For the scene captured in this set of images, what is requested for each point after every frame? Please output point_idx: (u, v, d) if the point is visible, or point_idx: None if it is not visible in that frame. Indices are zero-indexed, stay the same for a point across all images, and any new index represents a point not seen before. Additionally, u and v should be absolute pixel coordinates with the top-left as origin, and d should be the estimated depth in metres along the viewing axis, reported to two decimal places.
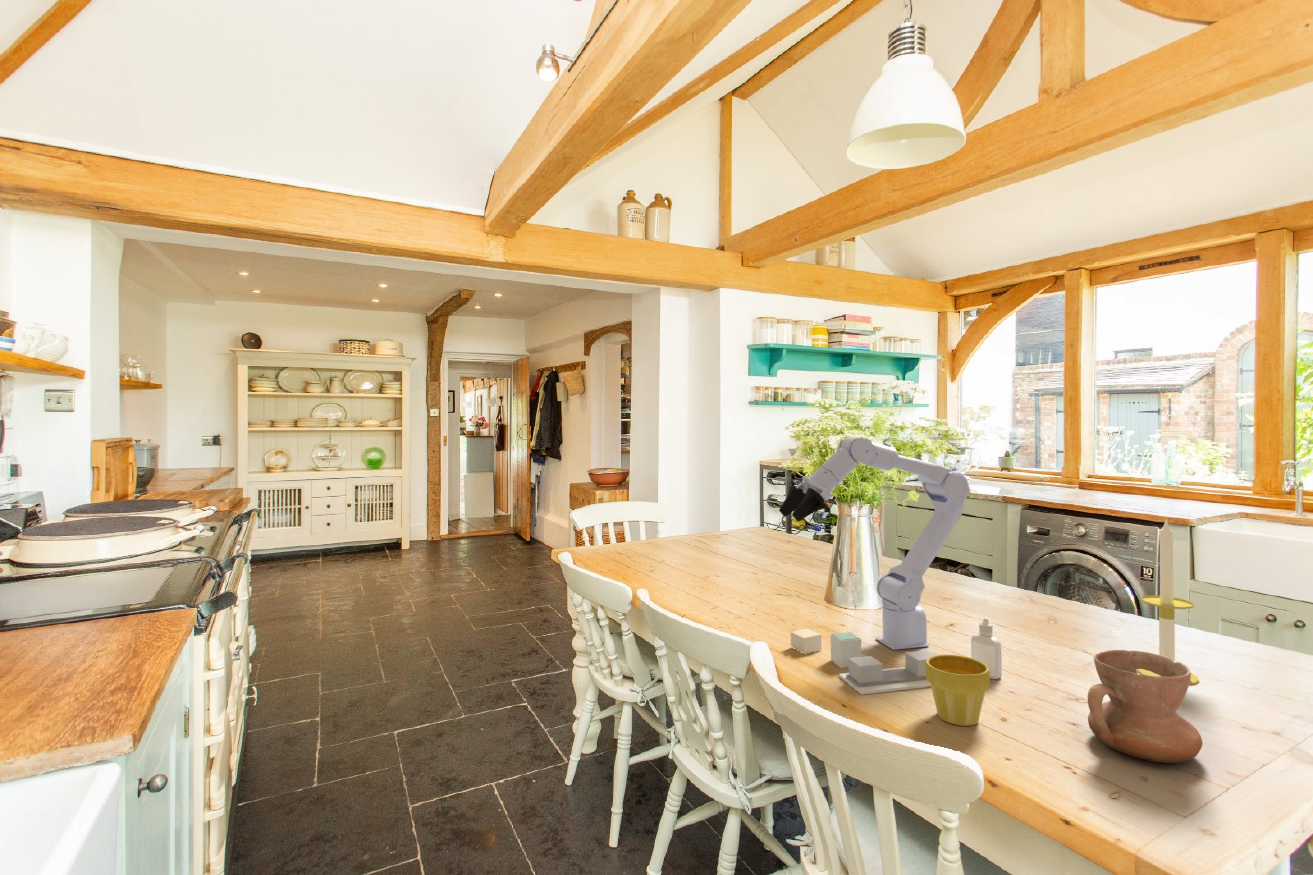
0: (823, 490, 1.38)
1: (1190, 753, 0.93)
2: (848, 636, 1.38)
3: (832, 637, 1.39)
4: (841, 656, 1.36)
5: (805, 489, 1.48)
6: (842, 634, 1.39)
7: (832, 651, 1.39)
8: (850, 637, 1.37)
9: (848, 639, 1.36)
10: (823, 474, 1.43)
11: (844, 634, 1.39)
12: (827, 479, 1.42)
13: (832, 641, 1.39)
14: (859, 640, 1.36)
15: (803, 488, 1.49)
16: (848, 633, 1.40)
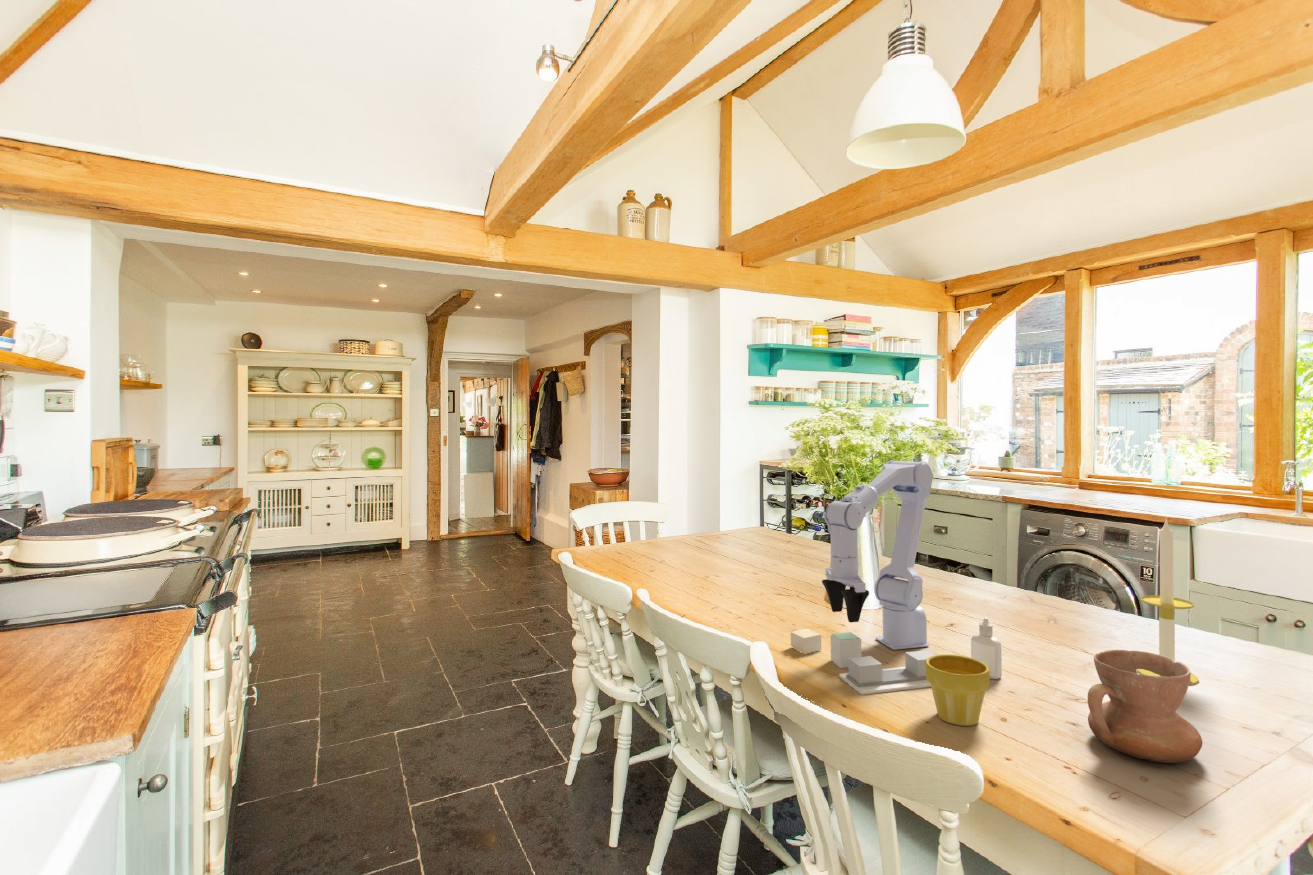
0: (854, 586, 1.31)
1: (1190, 753, 0.93)
2: (848, 636, 1.38)
3: (832, 637, 1.39)
4: (841, 656, 1.36)
5: None
6: (842, 634, 1.39)
7: (832, 651, 1.39)
8: (850, 637, 1.37)
9: (848, 639, 1.36)
10: (840, 564, 1.35)
11: (844, 634, 1.39)
12: (847, 565, 1.35)
13: (832, 641, 1.39)
14: (859, 640, 1.36)
15: None
16: (848, 633, 1.40)
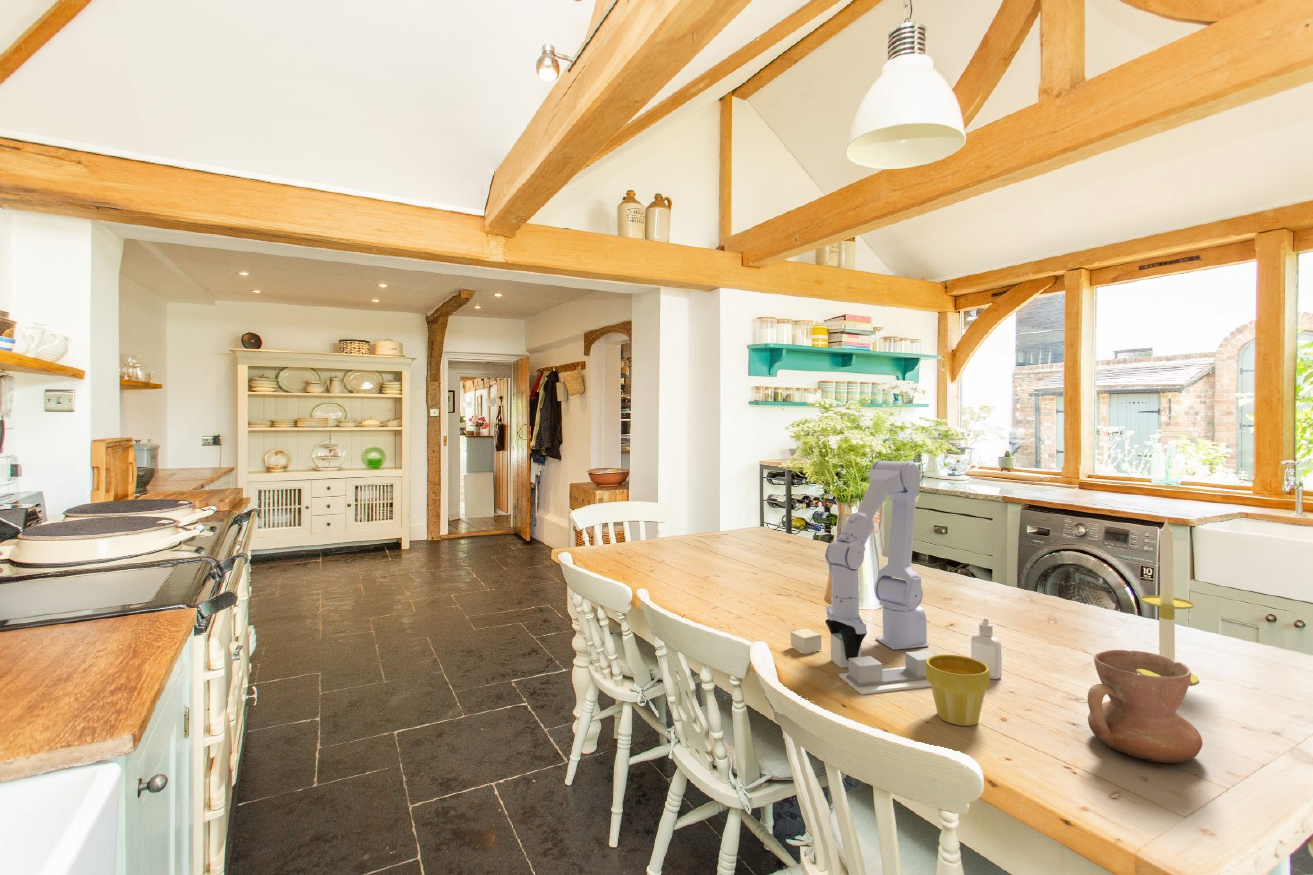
0: (855, 627, 1.31)
1: (1190, 753, 0.93)
2: None
3: (832, 637, 1.39)
4: (841, 655, 1.36)
5: None
6: None
7: (832, 651, 1.39)
8: None
9: None
10: (841, 604, 1.36)
11: None
12: (848, 606, 1.35)
13: (832, 641, 1.39)
14: None
15: None
16: None
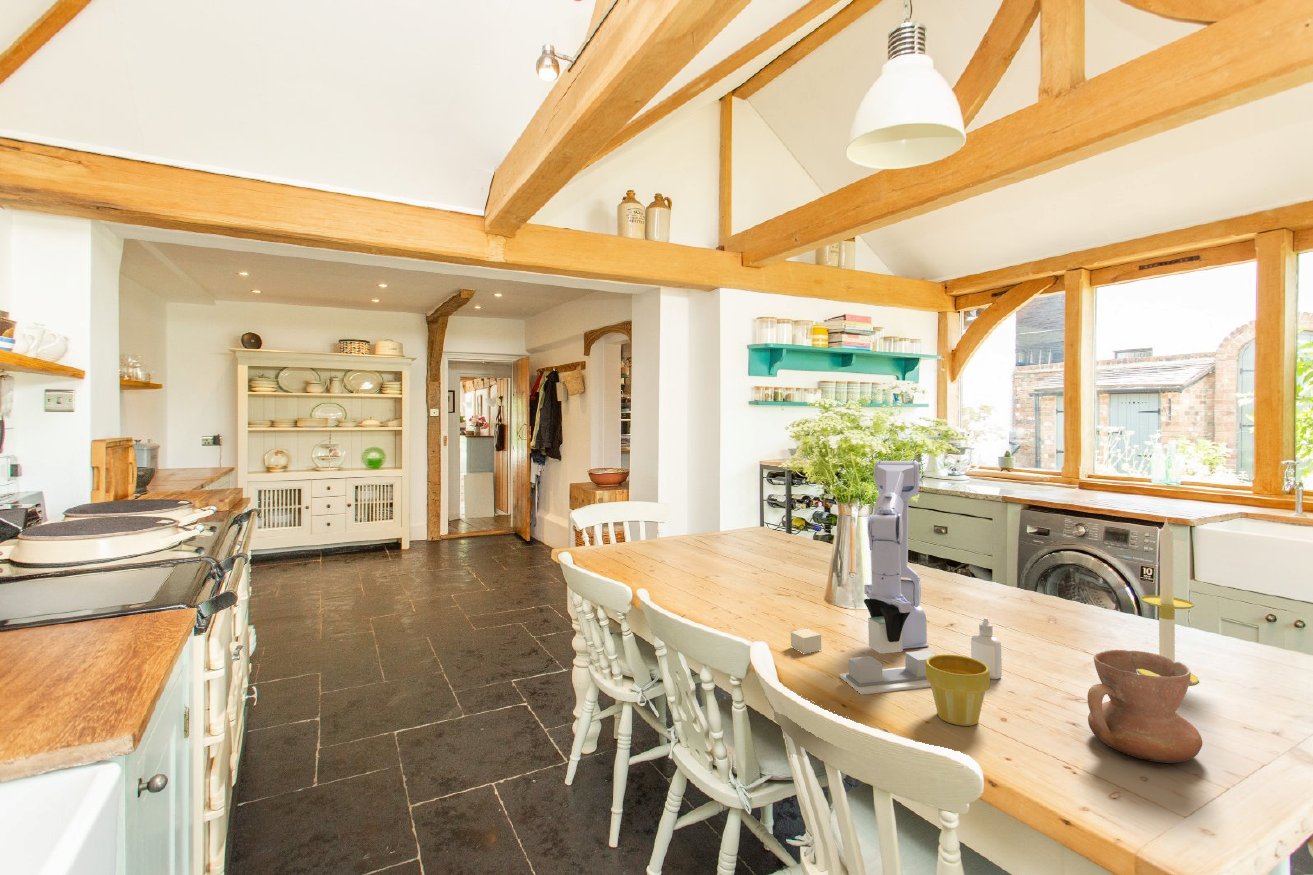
0: (899, 606, 1.23)
1: (1190, 753, 0.93)
2: None
3: (870, 621, 1.30)
4: (880, 640, 1.27)
5: None
6: (881, 618, 1.30)
7: (870, 636, 1.30)
8: None
9: None
10: (882, 582, 1.27)
11: (883, 618, 1.30)
12: (890, 583, 1.26)
13: (870, 625, 1.30)
14: None
15: None
16: None
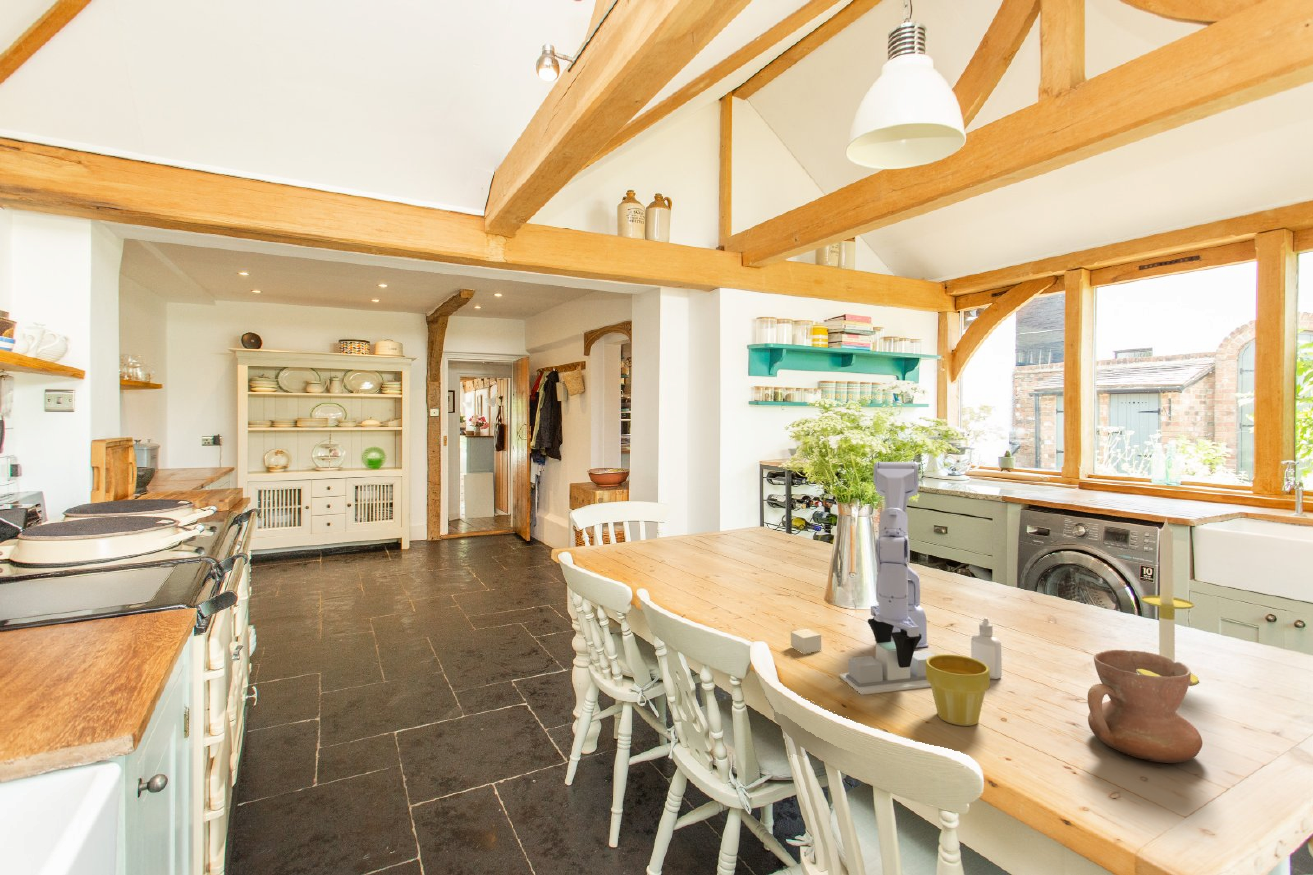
0: (907, 629, 1.22)
1: (1190, 753, 0.93)
2: (895, 646, 1.28)
3: (877, 647, 1.29)
4: (888, 667, 1.26)
5: None
6: (888, 643, 1.29)
7: None
8: None
9: (895, 649, 1.26)
10: (890, 604, 1.26)
11: (890, 643, 1.29)
12: (897, 606, 1.25)
13: (877, 651, 1.29)
14: None
15: None
16: None
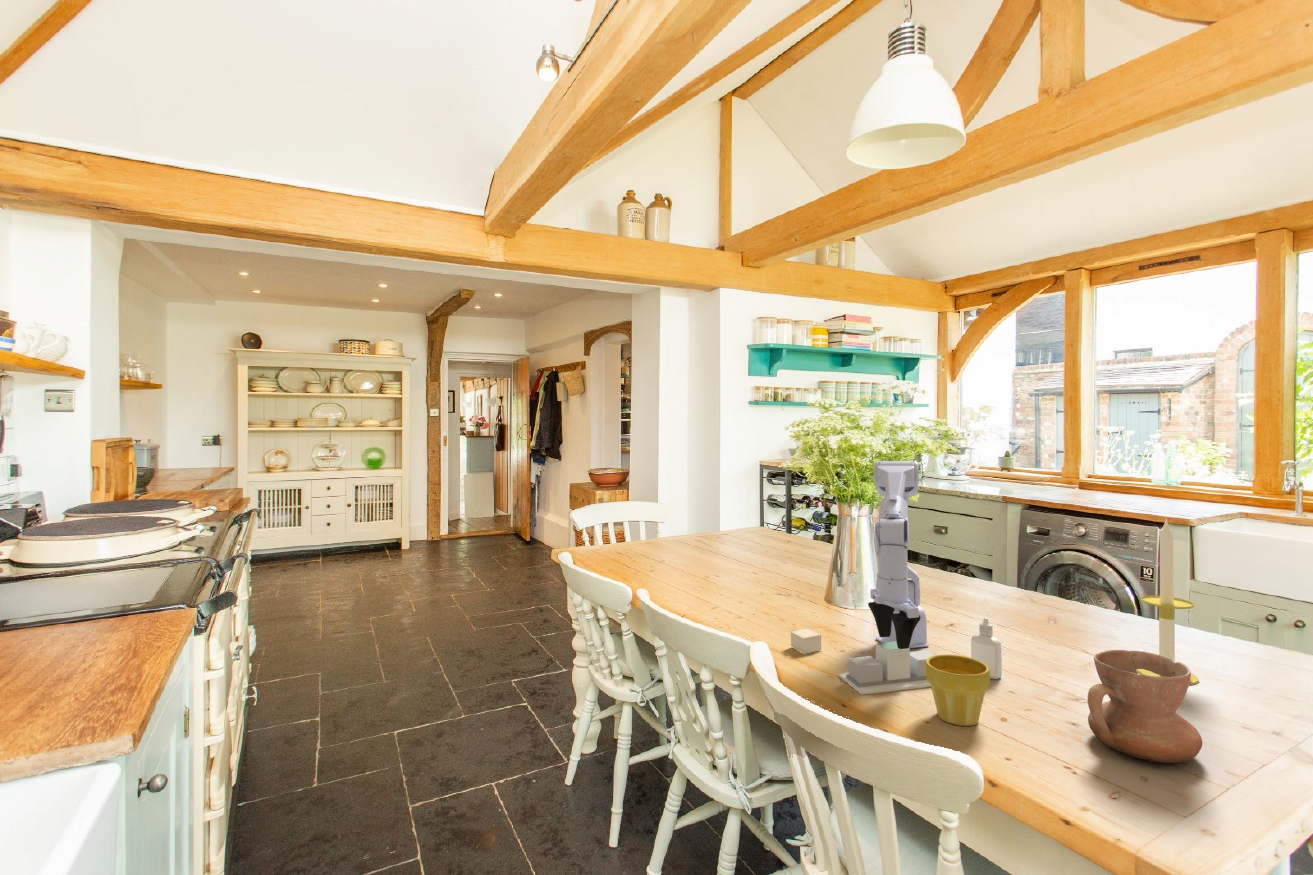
0: (907, 611, 1.21)
1: (1190, 753, 0.93)
2: (895, 646, 1.28)
3: (877, 647, 1.29)
4: (888, 667, 1.26)
5: None
6: (888, 643, 1.29)
7: None
8: (897, 647, 1.27)
9: (895, 649, 1.26)
10: (889, 586, 1.26)
11: (890, 643, 1.29)
12: (897, 588, 1.25)
13: (877, 651, 1.29)
14: (907, 650, 1.26)
15: None
16: (895, 642, 1.30)
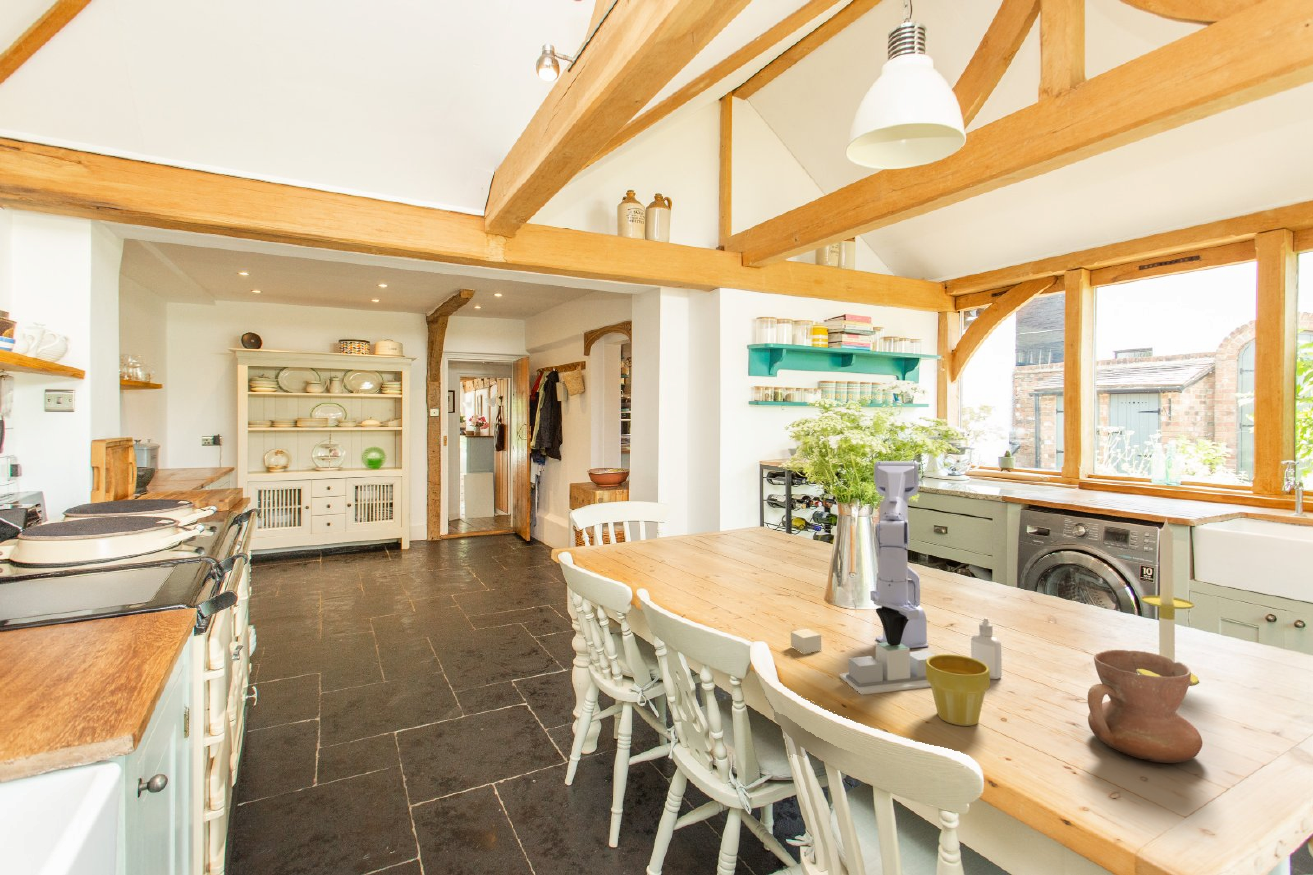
0: (907, 613, 1.21)
1: (1190, 753, 0.93)
2: (895, 646, 1.28)
3: (877, 647, 1.29)
4: (888, 667, 1.26)
5: None
6: None
7: None
8: (897, 647, 1.27)
9: (895, 649, 1.26)
10: (889, 588, 1.26)
11: None
12: (897, 590, 1.25)
13: (877, 651, 1.29)
14: (907, 650, 1.26)
15: (879, 597, 1.33)
16: None
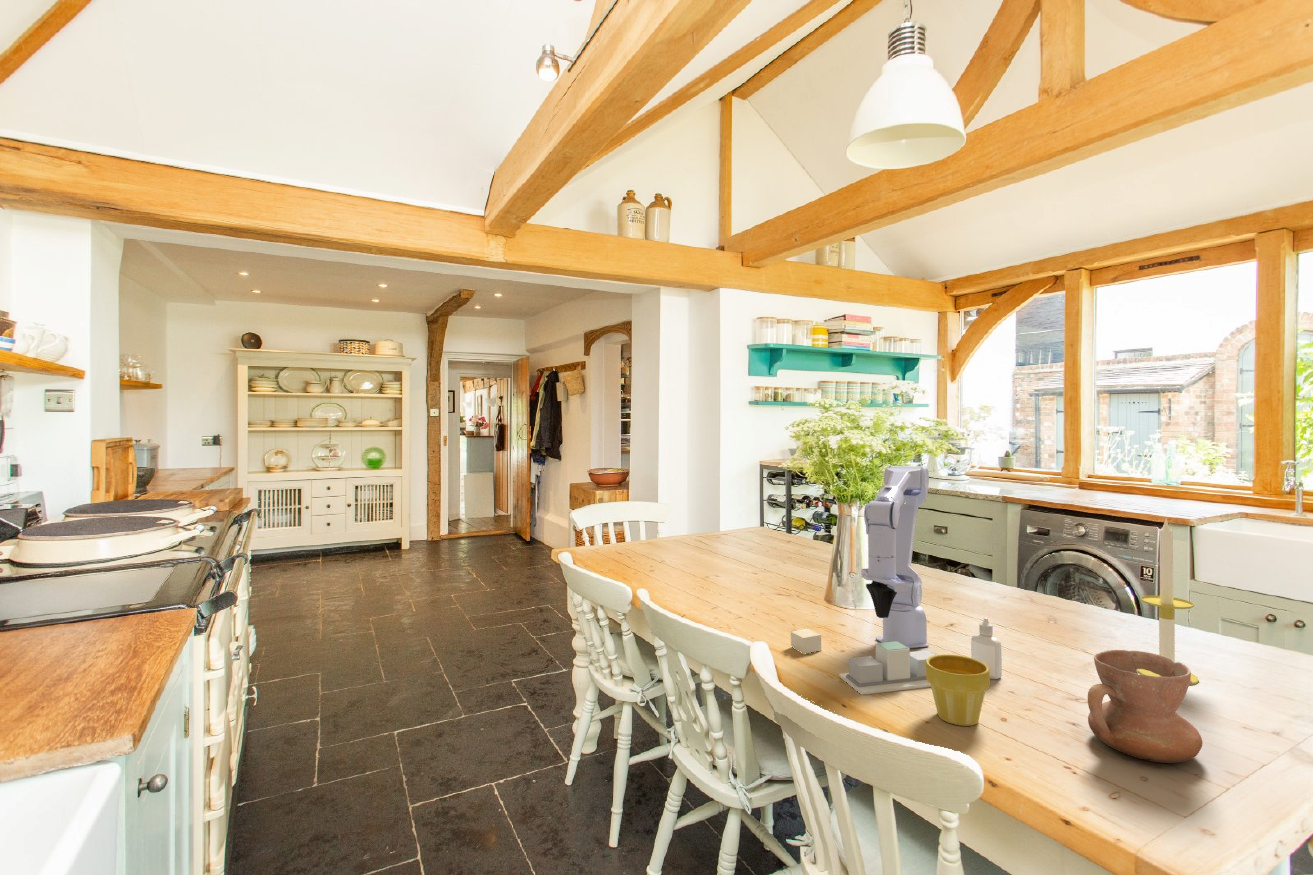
0: (894, 586, 1.31)
1: (1190, 753, 0.93)
2: (895, 646, 1.28)
3: (877, 647, 1.29)
4: (888, 667, 1.26)
5: None
6: (888, 643, 1.29)
7: None
8: (897, 647, 1.27)
9: (895, 649, 1.26)
10: (878, 564, 1.35)
11: (890, 643, 1.29)
12: (885, 565, 1.34)
13: (877, 651, 1.29)
14: (907, 650, 1.26)
15: None
16: (895, 642, 1.30)
